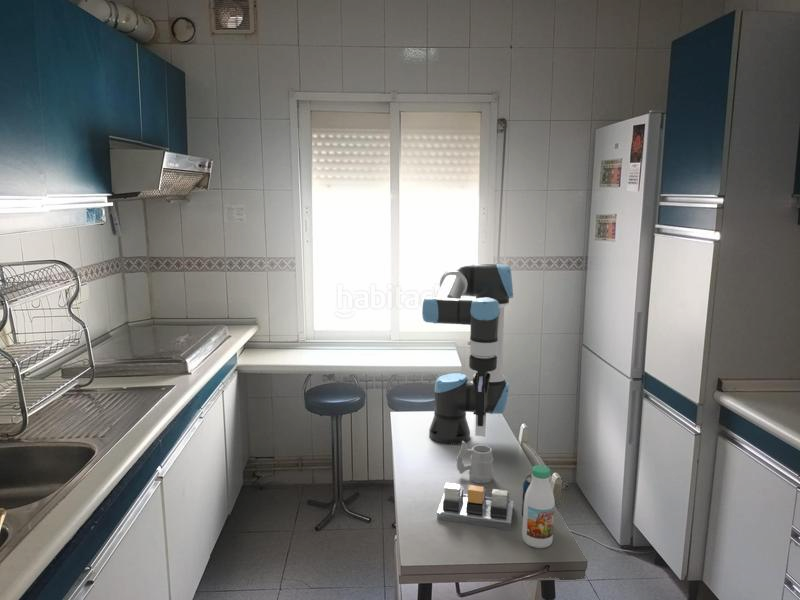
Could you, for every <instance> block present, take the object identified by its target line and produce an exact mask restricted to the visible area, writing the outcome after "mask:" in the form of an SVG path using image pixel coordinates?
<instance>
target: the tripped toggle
mask: <svg viewBox="0 0 800 600" xmlns="http://www.w3.org/2000/svg"><path fill="white" fill-rule="evenodd" d="M484 487H485V486H482V485H481V486H480V485H473V484H472V485H471V484H469V485H468V488H467V494H468V502H472V503H479V504H482V502H483V493H484V490H485V489H484Z"/></svg>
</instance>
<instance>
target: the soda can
mask: <svg viewBox="0 0 800 600" xmlns="http://www.w3.org/2000/svg"><path fill="white" fill-rule="evenodd" d="M531 481H532V474H528V475H526V477H525V480H524V481H523V483H522V485H523V486H522V498H521V501H522V502H521V516H522V517H523V511H524V499H525V494H526V491H527V489H528V487H529V485H530V484H531Z"/></svg>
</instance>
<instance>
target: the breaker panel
mask: <svg viewBox="0 0 800 600" xmlns="http://www.w3.org/2000/svg"><path fill="white" fill-rule="evenodd" d="M464 489H465V488H464V486H461V484H459V483H452V482H451V483H450V482H446V483H445V485H444V490H443V491H444V493H443V495H442V498H441V500H440V503H439V506H438V509H437V512H436V514H437V515H436V520H439V521H446V522H452V523H453V522H454V523H458V524H459V523H460V524H466V525H473V526H480V527H486V528H494V529H502V530H508V531H511V529H512V523H513V522H512V521H513V512H514V500H510V493H509V492H508V490H505V489H497V488H492V492H491V497H490V496H487V489H484V493H483V502H482V504H479V503H472V502H468V493H464Z"/></svg>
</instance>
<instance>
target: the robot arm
mask: <svg viewBox="0 0 800 600" xmlns="http://www.w3.org/2000/svg"><path fill="white" fill-rule="evenodd" d="M513 287H514V286H513V276H512V270H511V267H510V266H509V265H507V264H500V263H499V264H498V263H463V264H462V263H461V264H458V265H455V266H454V267H452V268H449V269H448V270H447V271H445V272H444V273H443V274H442V276H441V278H440V280H439V289H438V291H437V293H436V294H435V296H430V297H429V296H427V297H425V298H424V299H423V302H422V309H421V310H422V314H421V315H422V316H421V317H422V320H423V322H425V323H430V324H431V323H432V324H436V325H437V324H441V325H442V324H445V325H446V324H449V325H463V326H464V325H467V326H470V336H469V338H470V339H469V341H468V342H467V345H468V346H469V354H470V355H469V358H468V359H469V360H468V361H469V362H468V364H469V365H468V366H469V368H470V369H471V370H473V371H476V372H475V373H474V374H473V375H472V379H468V376H467V374H463V373H460V372H459V373H456V372H454V373H447V374H446V373H445V374H444V375H441V376H439V377H437V378H436V380H435V385H434V390H433V391H434V416H433V419H432V421H431V424H430V427H429V430H428V431H429V432H428V434H429V435H428V436H429V438H430V439H431V440H432V441H434V442H436V443H439V444H444V445H460V444H462V441H464V442H465V443H466V442H468V441H469V440H470V439H471V430H470V427H469V423H468V420H467V417H466V416H467V412H469V413H473V415H475V430H474V432H475V437H486V428H487V414H491V415H494V414H495V415H501V414H503V413H504V412H505V411H506V407H507V402H508V396H509V389H510V382H508V381H506V376H505V375H504V374H503V371H502V369H503V367H502V366H503V346H504V343H503V342H504V324H505V322H504V321H505V307H507V306H508V305H509V304H510V299H513V298H514V292H513V291H514V289H513ZM462 296H465V297H474V298H461V297H462Z"/></svg>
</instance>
